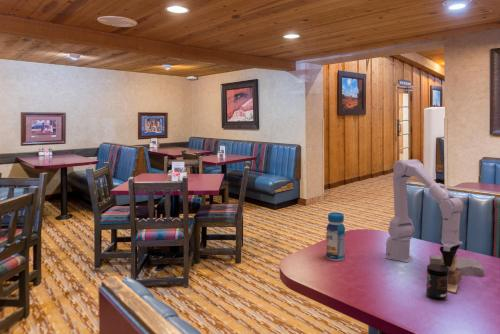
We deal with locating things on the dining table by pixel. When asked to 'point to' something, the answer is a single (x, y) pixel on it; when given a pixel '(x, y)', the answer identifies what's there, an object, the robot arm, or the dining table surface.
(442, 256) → the maple block
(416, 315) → the dining table surface
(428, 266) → the supplement container
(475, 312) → the dining table surface
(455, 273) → the walnut block
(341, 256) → the beverage bottle
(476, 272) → the stone block
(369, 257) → the dining table surface
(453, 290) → the tile
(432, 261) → the slate block
